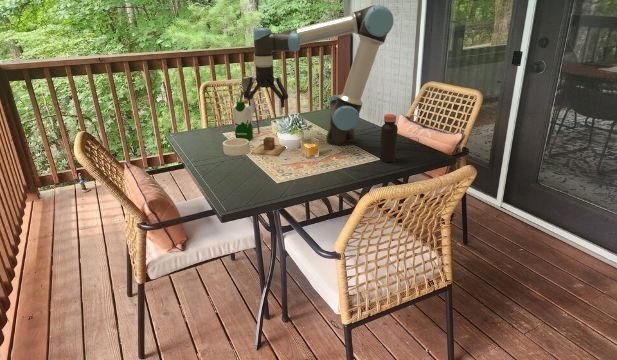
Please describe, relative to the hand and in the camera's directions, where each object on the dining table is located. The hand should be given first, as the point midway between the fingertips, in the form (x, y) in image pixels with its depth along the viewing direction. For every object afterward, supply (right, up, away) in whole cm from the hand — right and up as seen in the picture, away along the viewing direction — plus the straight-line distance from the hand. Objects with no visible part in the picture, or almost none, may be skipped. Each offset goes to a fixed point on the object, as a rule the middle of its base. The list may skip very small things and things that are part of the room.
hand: (267, 113), depth 189 cm
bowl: (-15, -17, +7) cm, 24 cm away
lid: (0, -16, +7) cm, 18 cm away
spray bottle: (-13, -4, +39) cm, 41 cm away
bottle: (+54, -22, -6) cm, 58 cm away
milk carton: (-14, -10, +25) cm, 30 cm away
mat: (+1, -17, +7) cm, 18 cm away
